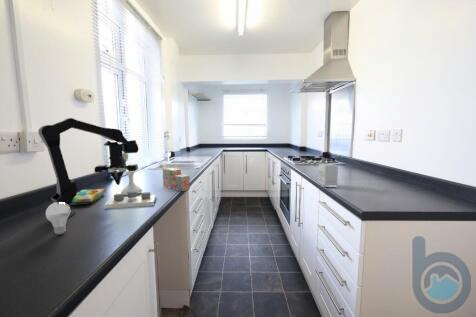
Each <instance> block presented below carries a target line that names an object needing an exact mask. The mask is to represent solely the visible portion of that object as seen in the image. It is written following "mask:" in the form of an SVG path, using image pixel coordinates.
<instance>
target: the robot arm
mask: <svg viewBox="0 0 476 317" xmlns="http://www.w3.org/2000/svg"><path fill="white" fill-rule="evenodd" d="M70 129H75V130H79V131H82V132H87V133H90V134H95V135H99V136H100V137H102V138H105V139H107V141H106V142H105V143H104V144H103V146H105V147H106V146H107V147H108V150H109V151H108V152H109V157H108V159H109V166H107V164H103V165H101V164H99V165H97V166H95V167H94V173H102V172H104V171H108V172H107V174H108V175H110V176H111V177H112V178H113V180H114V182H115V184H116V186H119V185H120V183H121V181H122V178H123V175H124V174H125V173H126V171H135V172H136V171H138V170H139V165H138V164H136V163H132V164H131V163H129V164H128V165H127V161H126V160H125V159H124V158H123V153H125V154H137V153H138V152H139V145H138V143H137V141H136V140H134V139H132V140H128V139H127V138H125V136H124V134H123V132H122V130H120V129H117V128H109V127H103V126H98V125H95V124H92V123H89V122H85V121H81V120H78V119H75V118H72V117H69V118H65V119H64V120H62V121H58V122H56V123H54V124H45V125H42V126H41V127H39V129H38V135H39V138H40V139H41V141H42V142H43V143H44V145H45V146H46V148H47V151H48V155H49V158H50V161H51V164H52V168H53V172H54V175H55V178H56V193H55V194H54V195H53V196H52V197H51V198H50V200H51V201H52V203H55V202H64V203H66V204H68V205H69V207H70V210H71V212H70V215H69V217H68V218H67V220H68V219H69V218H71V217H73V216H74V215H75V214H76V212H72V205H71V203H72V200H73V198H74V197H75V196H76V195H77V193H78V191H79V189H78V188H77V181H76V180H73V179H70V178H69V174H68V171H67V168H66V164H65V161H64V157H63V153H62V150H61V134H62V133H64V132H66V131H68V130H70Z"/></svg>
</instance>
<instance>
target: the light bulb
mask: <svg viewBox="0 0 476 317" xmlns="http://www.w3.org/2000/svg"><path fill="white" fill-rule="evenodd" d="M70 212H71V213H72V209H71V210H70V207H69V205H68V204H66V203H64V202H55V203H54V202H52V204H50V205H48V207H46V210H45V217H46V219H47V220H48V221H49V222H51V224H52V228H53V231H54V233H55V234H56V235H58V236H61V235H63V234H64V233H65V232H66V231H67V228H66V227H67V226H66V224H67V220H68V219H69V218H68V217H69V215H70ZM67 218H68V219H67Z"/></svg>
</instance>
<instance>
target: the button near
mask: <svg viewBox="0 0 476 317" xmlns="http://www.w3.org/2000/svg"><path fill="white" fill-rule="evenodd" d="M124 197H125V195H124V194H121V193H116V194H114V195H113V198H114V201H120V200H123V199H124Z"/></svg>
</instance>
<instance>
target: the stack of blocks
mask: <svg viewBox="0 0 476 317" xmlns="http://www.w3.org/2000/svg"><path fill="white" fill-rule="evenodd" d="M162 179H163V180H162V181H163V182H162V184H163V187H165V186H166V187H165V188H168V187H170V188H169V189H172V188H175V189H178V190H177V191H179V190H181V191H180V192H185V191H189V190H190V189H191V188H190V175H189V174H183V173H182V169H179V168H174V167H166V168H162ZM175 189H174V190H175Z"/></svg>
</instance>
